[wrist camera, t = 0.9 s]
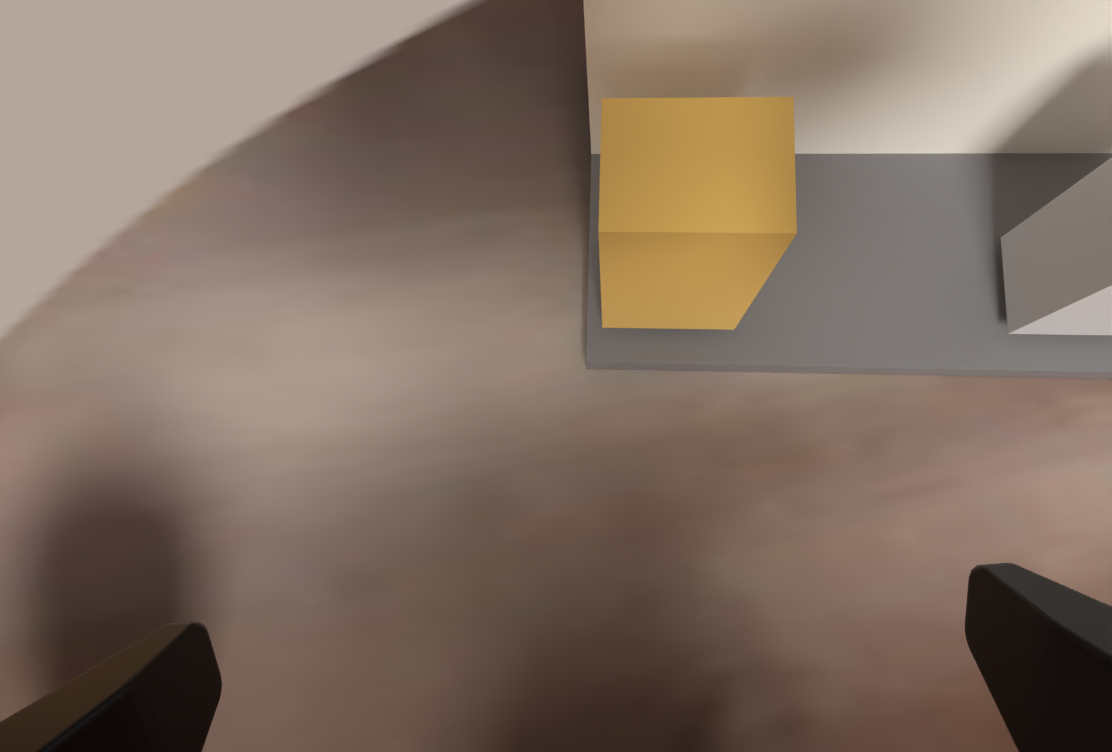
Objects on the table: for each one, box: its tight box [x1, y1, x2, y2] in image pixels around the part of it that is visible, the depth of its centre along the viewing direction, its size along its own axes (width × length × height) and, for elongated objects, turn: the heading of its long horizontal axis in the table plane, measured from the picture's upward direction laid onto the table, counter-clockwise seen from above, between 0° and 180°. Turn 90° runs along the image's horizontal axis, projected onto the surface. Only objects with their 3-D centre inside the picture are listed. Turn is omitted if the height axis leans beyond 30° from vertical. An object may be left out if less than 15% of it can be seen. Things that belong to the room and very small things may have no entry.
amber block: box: [598, 97, 797, 330], centre depth 20 cm, size 3×4×8 cm
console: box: [583, 0, 1112, 379], centre depth 20 cm, size 11×17×12 cm, turn 88°
